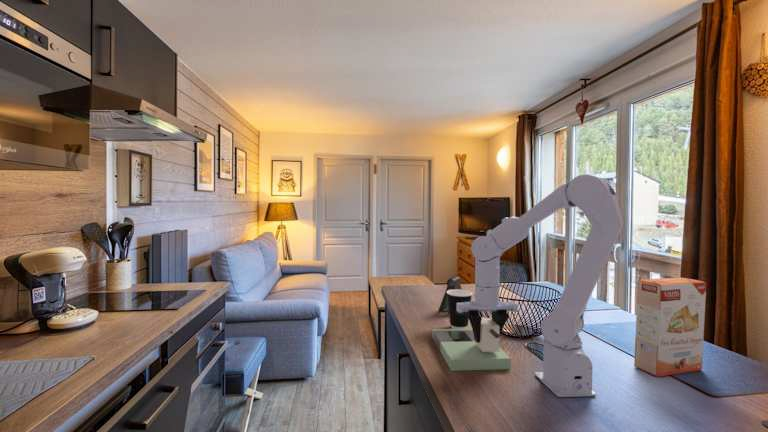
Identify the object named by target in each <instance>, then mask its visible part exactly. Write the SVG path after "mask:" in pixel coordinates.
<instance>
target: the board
mask: <svg viewBox="0 0 768 432" xmlns="http://www.w3.org/2000/svg"><path fill="white" fill-rule="evenodd" d="M432 339H433V342H434V343H435V345H436V346H437V348H438V350H439V351H440V354H441V355H442V358H443V359H444V361H445V362H446V364H447V366H448V368H449V370H450V371H451V372H453V371H487V370H490V371H491V370H492V371H493V370H511V368H512V367H511V366H512V365H511V363H512V361H511V359H512V358H511V357H510V356H509V355H508V354H507V353H506V352H505V351H504V350H503V349H502V348H501V347H500V346H499V351H497V352H482V351H481V349H480V348H479V347H478V346H477V345H476V344H475V342H474V334H473V329H472V327H471V328H470V327H469V328H468V327H467V328H461V329H453V328H432ZM454 340H459V341H454Z"/></svg>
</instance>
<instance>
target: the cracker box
mask: <svg viewBox="0 0 768 432" xmlns="http://www.w3.org/2000/svg"><path fill="white" fill-rule="evenodd" d="M706 297H707V282H705V281H702V280H698V279H692V278H687V277H668V278H666V277H665V278H647V279H646V278H645V279H644V278H643V279H638V280H637V295H636V317H635V336H634V337H635V342H634V365H633V366H634V367H635V368H637V369H640V370H641V371H643V372H646V373H648V374H650V375H652V376H654V377H656V378H659V377H664V376H671V375H679V374H685V373H686V372H687V373H692V372H698V371H700V372H701V371H702V370H703V355H704V354H703V353H704V336H705V335H704V334H705V332H704V331H705V319H706V318H705V316H706V315H705V313H706V301H707V300H706V299H707V298H706Z"/></svg>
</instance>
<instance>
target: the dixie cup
mask: <svg viewBox="0 0 768 432" xmlns="http://www.w3.org/2000/svg"><path fill="white" fill-rule="evenodd" d="M446 293H447V296H448V306H449V313H448V315H449V324H450V327H451V328H450V329H461V328H468V325H469V321H470V320H469V318H468V316H467V314H466V312H463V313H459V312H458V311H457V310H456V308H457V303H462V302H470V301H472V295H473V292H472V291H470V290H467V289H462V290H460V289H453V290H448V291H447V292H446Z"/></svg>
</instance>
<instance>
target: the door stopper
mask: <svg viewBox="0 0 768 432" xmlns="http://www.w3.org/2000/svg"><path fill="white" fill-rule="evenodd" d="M461 282H462V279H461V278H460V276H453V277H451V278H449V279H447V280H446V290H445V292H444V294H443V297H442V300H441V302H440V305H439V308H438V311H439V312H442V311H443V312H442V313H447V312H448V314H449V306H448V296H447V293H446V292H447V291H448V290H453V289H460V290H463V289H462V285H461Z"/></svg>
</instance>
